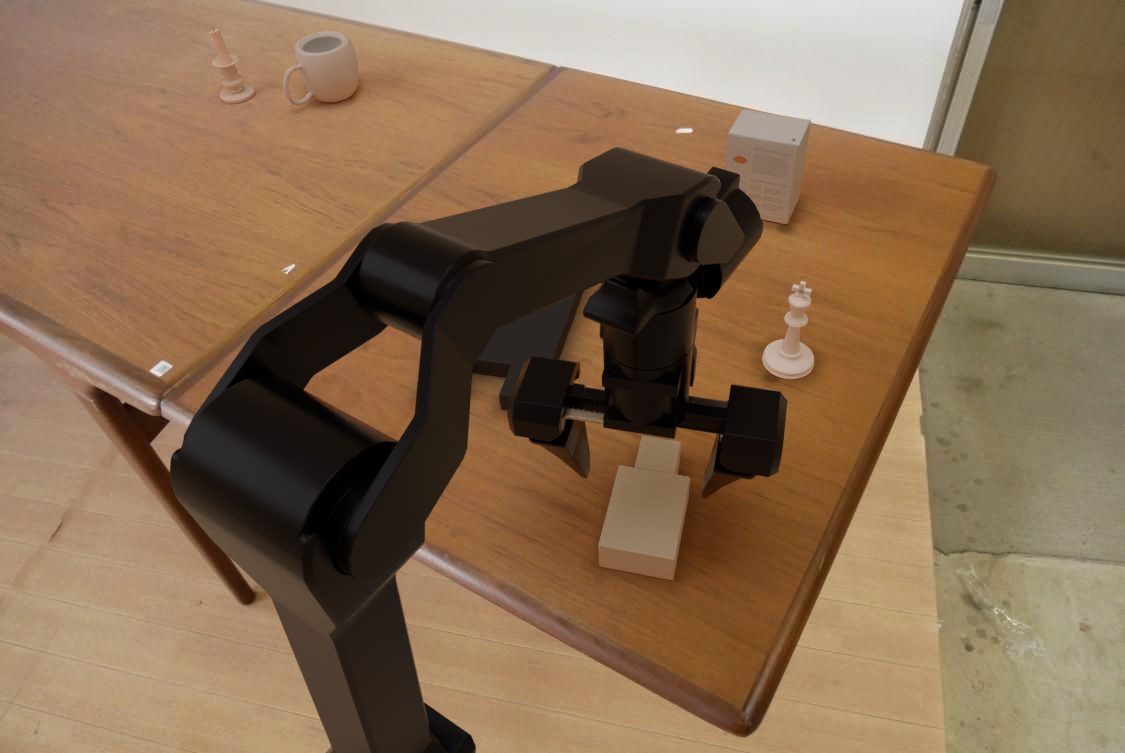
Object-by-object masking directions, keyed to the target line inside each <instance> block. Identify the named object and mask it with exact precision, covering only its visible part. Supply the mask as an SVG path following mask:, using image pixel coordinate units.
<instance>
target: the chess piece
mask: <svg viewBox="0 0 1125 753" xmlns="http://www.w3.org/2000/svg"><path fill="white" fill-rule="evenodd" d="M791 291H792V293H791V294H790V295H789V296H788V299H787V300H788V301H787V302H788V305H789V309H790V310H789V311H787V312H786V314H785V315H784V317H783V320H784V322H785V323H786V325H787V326H788V328H787V331H786V333H785V336H784V337H783V338H780V339H776V340H774V341H772V342H770V343H768V345H766V347H765V348H764V350H763V353H762V356H761V360H762V361H761V362H762V365H763V367H764V369H766V371H768V372H769V373H770V374H771V375H772V376H775V377H777V378H781V379H784V380H797V379H802V378H804V377H806V376H808V375H809V374H810V373H811V372H812V371H813V369H814V366H815V356H814V353H813V351H812V349H811V348H810V347H809V346H807V345H806V344H805V343H804V342H801V340H800V339H801V338H800V337H801V328H803V327H805V326H806V325H808V322H809V318H808V315H807V314H806V311H807V310H808V309H809V308H810V306H811V304H812V298H811V297H810V296H811V295H812V291H813V289H812V288H809V287H807V281H804V280H801V281H800V282H799V284H795V283H793V285H792V286H791Z"/></svg>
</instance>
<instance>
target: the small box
mask: <svg viewBox="0 0 1125 753" xmlns="http://www.w3.org/2000/svg"><path fill="white" fill-rule="evenodd" d="M811 124H812V121H811V119H806V118H800V117H794V116H788V115H781V114H776V113H768V112H764V111H757V110H751V109H744V108H742V110H741V111H740V113H739V114H738V116H737V118H736V119H735V121H734V122H733V124H732V126H731V127H730V129H729V131H728V132H727V137H726V148H725V149H726V151H725V152H726V153H725V160H724V161H725V162H724V170H727V171H731V172H734V173H737V174H740V183H739V189H741V190H742V191H743V192H744V193H745V194H746V195H748V196H749V197H750V199H751V200H752V201H753V202H754V204H755V205H756V207H757V209H758V211H759V213H760V217H761V220H762V221H768V222H772V223H777V224H781V225H788V223H789V222H790V220H791V217H792V216H793V213H794V210H795V208H796V206H797V204H798V201H799V199H800V195H801V189H802V183H803V177H804V169H805V163H806V158H807V149H808V145H809V144H808V143H809V137H810V130H811Z"/></svg>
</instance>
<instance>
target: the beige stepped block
mask: <svg viewBox="0 0 1125 753" xmlns="http://www.w3.org/2000/svg"><path fill="white" fill-rule="evenodd" d="M681 448H682V441H678V440H674V439H673V440H672V439H667V438H661V437H655V436H648V435H641V437H640V443H639V447H638V450H637V454H636V455H637V456H636V459H635V463H634V467H633V466H628V465H621V464H620V465H618V467H617V472H616V475H615V479H614V482H613V486H612V489H611V490H612V491H611V495H610V498H609V502H608V506H607V510H606V514H605V517H604V522H603V526H602V529H601V533H600V537H599V541H598V545H597V546H598V549H597V550H598V566H599V567H601V568H606V569H611V570H615V571H621V572H626V573H631V574H637V575H641V576H647V577H651V578H658V579H663V580H667V581H674V580H675V573H676V568H677V562H678V559H679V558H678V557H679V551H680V546H681V541H682V536H683V535H682V534H683V530H684V524H685V519H686V514H687V509H688V504H689V495H690V486H691V485H690V484H691V476H686V475H681V474H679V470H680V469H679V468H680V462H681V450H682V449H681Z"/></svg>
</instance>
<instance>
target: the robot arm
mask: <svg viewBox="0 0 1125 753" xmlns="http://www.w3.org/2000/svg"><path fill="white" fill-rule="evenodd" d="M739 183H740V174H737V173H734V172H731V171H727V170H725V168H724V169H723V168H721V167H717V166H712V167H711V168H709V169H708V171H707V172H704V171H700V170H697V169H694V168H691V167H687V166H683V165H681V164H677V163H674V162H671V161H667V160H664V159H661V158H658V157H654V156H652V155H651V156H650V155H648V154H644V153H640V152H637V151H634V150H631V149H628V148H624V147H621V146H615V147H611V149H608V150H606V151H605V152H602V153H601V154H598V155H596V156H595V157H592V158H591V159H589V160H586V161H585V162H583V163H582V164H581V165H580V166H579V168H578V173H577V178H576V182H575V183H573V184H571V185H570V186H567V187H564V188H559V189H556V190H551V191H548V192H544V193H543V192H542V193H538V194H535V195H531V196H527V197H521V198H519V199H514V200H510V201H507V202H502V203H498V204H494V205H489V206H485V207H481V208H476V209H473V210H468V211H465V212H460V213H456V214H451V215H448V216H444V217H439V218H435V219H432V220H427V221H423V222H413V221H408V220H403V221H397V222H383V223H382V224H379V225H377V226H375V227H373V228H371V229H370V230H369V232H368V233H366V235H365V236H364V237H363V238H362V239H361V240H360V241H359V243H358V244H357V246H356V247H355V249H354V250H353V251H352V253H351V254H350V256H349V257H348V259H347V260H346V261H345V263H344V264H343V266H342V267H341V269H340V270H339V271H338V273H337V275H335V277H334V278H333V279H332V280H330V281H329V282H328V283H326V284H324V285H323V286H321V287H319V288H318V289H316V290H315V291H313V292H312V293H310V294H309V295H307V296H305V297H303V298H302V299H301V300H298V301H297V302H296V303H294V304H293V305H291V306H290V307H288V308H286V309H285V310H283V311H282V312H280V313H279V314H276V316H275V315H274V317H272V318H271V319H269V320H268V321H265V322H264V323H263V324H261V325H260V326H259V327H258V328H257V329H256V330H254V332H252V334H251V335H250V336H249V338H248V339H247V340H246V342H245V343H244V345H242V348H241V349H240V351H239V352H238V353H237V355H236V356H235V358H233V360H232V362H231V363H230V364H229V366H228V367H227V369H226V370H225V371H224V373H223V374H222V376H221V377H220V378H219V380H218V382H216V384H215V386H214V387H213V388H212V390H211V391H210V393H209V394H208V395H207V397H206V398H205V400H204V401H203V402H202V404H201V405H200V407H199V408H198V410H197V411H196V412H195V414H194V415H193V417H192V419H191V420H190V422H189V424H188V426H187V428H186V430H185V432H184V434H183V440H182V444H181V447H180V448H177V449H176V450H175V451H173V453H172V454H171V457H170V463H169V477H170V482H171V486H172V487H171V488H172V490H173V495H175V497H176V499H177V501H178V502H179V504H180V505H181V506H182V507H183V508H184V509H185V510H186V511H187V513H188V514H189V515H190V516H191V517H192V519H193V520H194V521H195V522H196V523H197V525H198V526H199V527H200V528H201V529H202V531H204V533H205V534H206V535H207V536H208V538H209V539H210V540H211V541H212V542H213V543H214V544H215V545H216V546H217V547H218V548H219V549H221V551H222V552H223V553H225V555H227V556H228V558H230V560H232V561H233V562H234V563H235V564H236V565H237V566H238V567H239V568H241V570H243V572H244V573H246V574H247V576H249V577H250V579H252V580H253V581H254V582H255V583H256V584H257V585H258V586H259V587H260V588H261V589H263V590H264V591H265V593H267V595H268V596H269V598H270V599H271V601H272V603H273V606H274V608H275V611H276V613H277V616H278V618H279V621H280V623H281V625H282V628H283V631H284V633H285V635H286V636H285V637H286V638H287V640H288V644H289V645H290V648H291V650H292V653H293V655H294V658H295V661H296V663H297V665H298V667H299V670H300V673H301V675H302V678H303V680H304V683H305V685H306V688H307V690H308V692H309V695H310V697H311V700H312V702H313V704H314V708H315V709H316V712H317V715H318V717H319V719H320V723H321V724H322V727H323V729H324V733H325V734H326V737H327V739H328V742H329V744H330V747H329V748H328V749H327V750H326V752H325V753H476V752H477V746H476V743H475V741H474V738H473V736H472V735H471V733H469V732H467V731H466V730H465V729H463V727H460V726H459V725H457V724H456V723H455V722H453V721H452V720H451V719H449V718H448V717H446V716H445V715H443V714H442V713H440V712H439V711H437V710H436V709H435V708H433V707H432V706H430V705H429V704H428V703H426V702H425V701H424V697H423V693H422V687H421V684H420V680H419V675H418V671H417V666H416V662H415V657H414V653H413V652H414V651H413V648H412V644H411V640H410V635H409V630H408V625H407V621H406V617H405V612H404V608H403V603H402V598H401V595H400V590H399V586H398V582H397V573H398V572H399V571H400V570H401V569H402V568H403V566H405V564H407V562H408V561H409V560H410V559H411V558H412V557H413V556H414V555H416V553H417V552H418V551H419V550H420V549H421V548H422V547H423V546H424V545H425V541H426V521H427V520H428V518H429V516H430V515H431V514H432V512H433V510H434V509H435V507H436V505H437V503H438V501H439V500H440V498H441V496H442V495H443V493H444V492H445V491H446V488H447V487H448V485H449V484H450V483H451V480H452V479H453V477H454V476H455V474H456V473H457V471H458V469H459V467H460V465H461V464H462V462H463V460H464V458H465V456H466V453H467V450H468V444H469V443H468V442H469V428H470V414H471V401H472V400H471V398H472V397H471V396H472V385H473V384H472V382H473V372H472V370H473V367H474V365H475V363H476V362H477V360H478V358H479V357H480V355H481V354H482V352H483V350H484V349H485V347H486V346H487V344H488V342H489V341H490V339H491V338H492V336H493V334H494V333H495V331H496V330H497V328H499V327H501V326H504V325H506V324H508V323H510V322H513V321H515V320H517V319H520V318H522V317H524V316H526V315H529V314H531V313H533V312H536V311H538V310H540V309H543V308H545V307H547V306H549V305H552V304H554V303H556V302H559V301H561V300H563V299H565V298H568V297H570V296H572V295H575V294H577V293H579V292H581V291H583V292H584V291H586V290H588V289H590V288H592V287H595V286H597V285H599V286H598V287H597V288H596V290H595V291H594V292H593V293H591V295H590V296H589V297H588V299H587V301H586V303H585V305H584V307H583V310H582V315H583V317H584V318H585V319H588V320H590V321H593V322H595V323H598V324H599V338H600V339H601V340H602V354H603V357H602V358H603V370H602V373H601V387H602V388H604V389H601V388H600V389H599V388H593V387H588V386H586V385H585V384H582V383H576V382H575V381H576V380H578V379H579V378H580V375H581V362H579V361H573V360H565V359H560V358H559V359H552V358H545V357H538V356H531V357H530V358H529V359H528V360H527V361H526V362H524V364H523V367H522V369H521V372H520V375H519V377H518V380H517V382H516V385H515V387H514V390H513V392H512V395H511V398H510V400H509V404H508V410H506V412H507V413H506V415H507V422H508V428H509V430H510V431H511V433H512V435H514V437H519V438H520V437H521V438H527V439H528V441H529V442H530V443H531V444H532V445H536V446H540V447H542V448H543V449H544V450H546V451H548V452H549V453H550V454H552V455H554V456H555V457H557V458H558V459H560V460H561V461H562V462H563V463H565V465H566V466H568V467H569V468H570V469H572V470H573V471H574V472H575V473H576V474H577V475H578V476H579V477H581V478H582V479H588V477H589V474H590V471H591V450H590V443H589V437H588V432H587V426H586V422H587V423H592V424H599V425H602V427H603V429H607V430H614V431H620V432H628V433H633V434H641V435H645V436H651V437H657V438H664V439H670V440H672V439H673V440H675V439H676V435H677V429H684V430H690V431H697V432H701V433H702V432H704V433H710V434H716V436H715V438H714V443H713V446H712V448H711V452H710V455H709V458H708V461H707V464H706V468H705V470H704V474H703V482H702V487H701V493H700V498H701V499H703V500H707V499H708V498H710V497H711V496H713V495H714V494H715V493H716V492H718V491H719V490H721V489H722V488H724V487H726V486H728V485H730V484H732V483H734V482H737V481H739V480H755V478H756V477H757V476H758V477H764V478H771V477H772V476H775V475H776V474H778V473H779V470H780V464H781V461H782V456H783V449H784V442H785V430H786V422H787V421H786V419H787V412H788V411H787V410H788V399H787V398H786V397H785V395H784V394H783V393H782V392H781V390H777V389H769V388H763V387H756V386H748V385H741V384H734V383H731V384H730V386H729V387H730V388H729V395H728V399H727V400H721V399H715V398H707V397H706V398H705V397H701V396H694V395H690V388H693V387H694V383H695V377H696V369H697V357H698V348H697V345H696V338H697V330H698V320H699V312H700V310H699V308H698V307H697V299H708V300H712V299H713V298H714V297H716V295H717V294H718V293H719V291H721V289H722V288H723V287H724V286H725V284H727V282H728V281H729V279H730V278H731V276H732V275H733V274H734V273H735V271H736V270H737V269H738V268H739V266H740V265H741V264H742V263H743V261H744V260H745V259H746V257H748V255H749V254H750V253H751V251H752V250H753V249H754V247H755V246H756V245H757V244H758V242H759V241H760V239H761V238H762V235H763V232H764V221H763V220H762V219H761V217H760V213H759V211H758V209H757V207H756V205H755V204H754V202H753V201H752V200H751V199H750V197H749V196H748V195H746V194H745V193H744V192H743V191H742V190H741V189H739ZM388 327H391V328H393V329H395V330H397V331H400V332H401V333H403V334H406V335H408V336H410V337H412V338H414V339H417V340H419V341H420V342H421V343H420V351H419V352H420V353H419V362H418V363H419V364H418V374H417V382H418V384H417V385H416V396H415V406H414V414H413V417H412V419H411V420H410V422H409V423H408V425H407V426H406V428H405V430H404V431H403V433H402V435H401V436H400V438H399V439H398V440H397V439H395V438H394V437H391V436H390V435H388V434H386V433H384V432H383V431H381V430H379V429H377V428H375V427H373V426H372V425H370V424H368V423H366V422H364V421H362V420H360V419H359V418H356V417H355V416H353V415H351V414H349V413H347V412H345V410H344V411H343V410H342V409H340V408H338V407H336V406H334V405H333V404H330V403H329V402H327V401H325V400H324V399H321V398H320V397H318V396H317V395H314V394H312V393H310V392H309V391H307V390H305V389H306V387H307V386H308V385H309V383H310V381H311V379H312V378H313V377H314V376H316V375H317V374H319V373H321V372H322V371H323V370H325V369H327V368H328V367H329V366H331V365H333V364H334V363H337V361H339V360H340V359H343V358H344V357H345V356H347V355H349V354H350V353H352V352H353V351H355V350H356V349H358V348H360V347H361V346H363V345H365V344H366V343H367V342H369V341H371V340H372V339H374V338H376V337H377V336H378V335H380V334H382V333H383V331H384V330H385V329H387V328H388Z"/></svg>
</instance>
